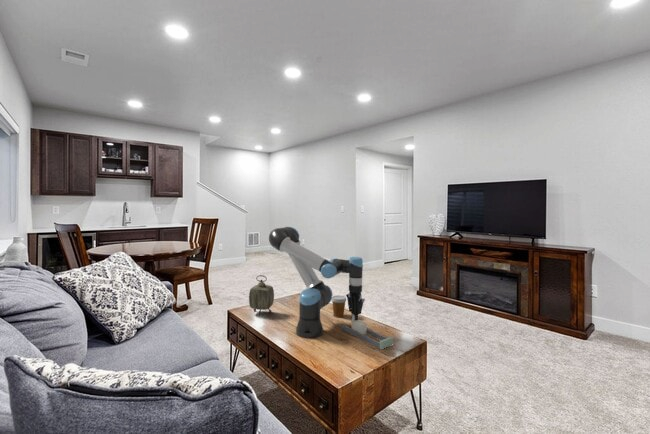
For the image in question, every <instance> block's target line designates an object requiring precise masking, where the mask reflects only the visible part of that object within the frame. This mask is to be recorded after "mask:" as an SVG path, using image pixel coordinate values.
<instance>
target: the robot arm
mask: <svg viewBox="0 0 650 434" xmlns="http://www.w3.org/2000/svg"><path fill="white" fill-rule="evenodd" d="M268 241H269V243H270V245H271V247H272V248H274V249H276V250H277V251H278V252H281V253H286V254H288V257H289V258H290V260H291V262H292V263H293V265H294V267H295V269H296V271H297V272H298V275H300V277H301V280H302V282H303V283H304V285H305V287H306V288H305V289H304V290H302V291H300V293H299V301H298V302H299V310H298V311H299V319H298V322H297V325H296V328H295V334H296V335H297V336H298V337H301V338H306V339H311V338H313V339H314V338H319V337H321V336H322V335H323V333H324V328H323V324H322V320H321V309H323V308H324V307H326V306H328V305H329V304H330V302H332V297H333V291H332V289H331V287H330V286H329V285H327V284H325V282H324V280H322V279H320V278H318V276H317V274H316V272H315V270H316V271H317V272H320V274H321V276H322V277H323V278H324V279H331V278H334V277H335V276H337V275H339V274H342V273H343V274H348V284H349V285H348V292H349V293H347V294H345V297H346V298H347V299H346V301H347V307H348V311H349V312H350V313H351V319H352V320H351V323H352V322H353V321H357V320H359V315H361V314H362V310H363V307H364V302H365V300H366V299H365V298H363V297H362V292H363V285H362V284H363V272H364V271H363V267H364V264H363V258H362V257H361V256H351V257H349V258H348V259H340V258H331V259H330V260H327V259H326V258H324V257H322V256H321V255H319V254H317V253H315V252H313V251H311V250H309V249H308V248H306V247H304V246H302V245H301V241H300V233H299V231H298V230H297V229H296V228H294V227H292V226H285V227H278V228H274V229H273V230H272V231H271V232H269V236H268Z"/></svg>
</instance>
